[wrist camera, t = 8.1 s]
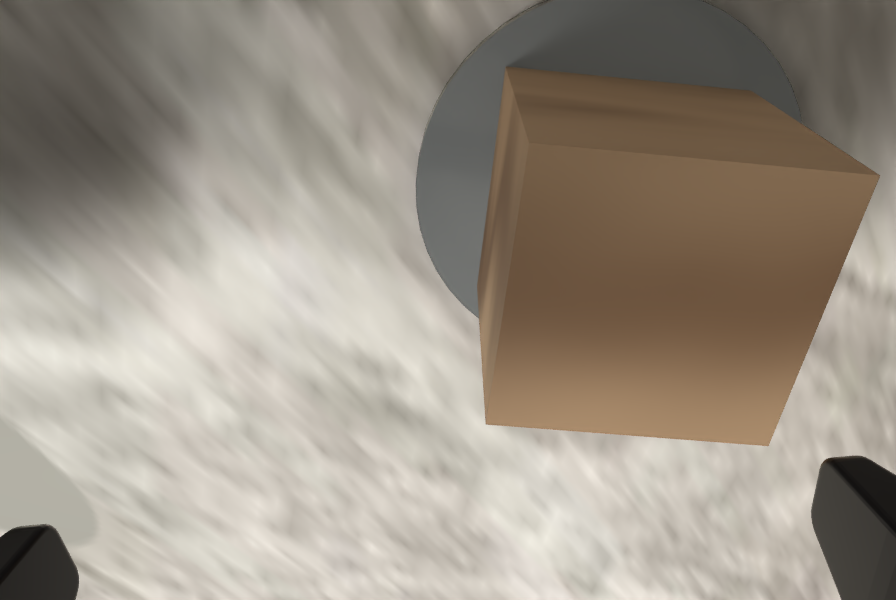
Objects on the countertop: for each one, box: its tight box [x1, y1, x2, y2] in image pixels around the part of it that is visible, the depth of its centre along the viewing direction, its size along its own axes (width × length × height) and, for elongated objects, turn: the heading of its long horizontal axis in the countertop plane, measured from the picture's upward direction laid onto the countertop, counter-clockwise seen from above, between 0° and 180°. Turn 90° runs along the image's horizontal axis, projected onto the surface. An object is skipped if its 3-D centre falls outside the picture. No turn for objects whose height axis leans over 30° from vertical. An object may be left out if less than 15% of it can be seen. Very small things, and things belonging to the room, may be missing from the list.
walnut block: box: [477, 67, 880, 446], centre depth 16 cm, size 6×6×6 cm
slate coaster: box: [416, 0, 802, 318], centre depth 19 cm, size 10×10×1 cm
